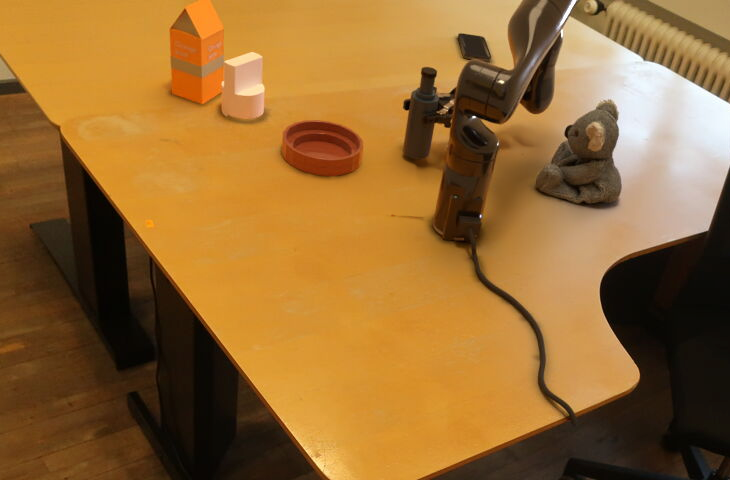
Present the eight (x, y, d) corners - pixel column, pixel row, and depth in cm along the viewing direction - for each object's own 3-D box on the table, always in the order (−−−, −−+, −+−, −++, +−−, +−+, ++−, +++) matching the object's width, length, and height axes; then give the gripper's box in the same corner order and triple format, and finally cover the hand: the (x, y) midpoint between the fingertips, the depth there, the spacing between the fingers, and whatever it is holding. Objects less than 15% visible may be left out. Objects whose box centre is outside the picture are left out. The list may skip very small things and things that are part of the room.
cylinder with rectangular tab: (241, 98, 188) (242, 46, 180) (272, 113, 185) (274, 61, 177) (212, 109, 182) (212, 56, 174) (244, 125, 179) (245, 72, 171)
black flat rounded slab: (484, 36, 240) (491, 58, 230) (483, 40, 241) (491, 62, 230) (457, 32, 239) (464, 54, 228) (456, 36, 239) (463, 58, 229)
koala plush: (553, 160, 194) (576, 80, 181) (625, 187, 191) (654, 108, 178) (530, 191, 181) (553, 108, 168) (607, 220, 178) (637, 137, 165)
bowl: (362, 183, 171) (364, 163, 168) (280, 175, 167) (281, 155, 164) (358, 143, 183) (361, 124, 180) (282, 135, 179) (283, 116, 176)
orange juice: (171, 93, 184) (167, 1, 170) (194, 80, 190) (192, -10, 177) (202, 104, 182) (201, 13, 169) (224, 90, 189) (224, 1, 176)
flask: (430, 160, 179) (445, 78, 167) (404, 157, 178) (416, 74, 165) (428, 146, 183) (441, 65, 171) (401, 144, 182) (413, 62, 170)
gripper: (459, 70, 183) (396, 80, 174) (499, 100, 176) (436, 111, 166) (453, 102, 188) (391, 113, 179) (492, 132, 181) (430, 145, 171)
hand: (413, 112), depth 173 cm, fingers closed on flask, 6 cm apart
